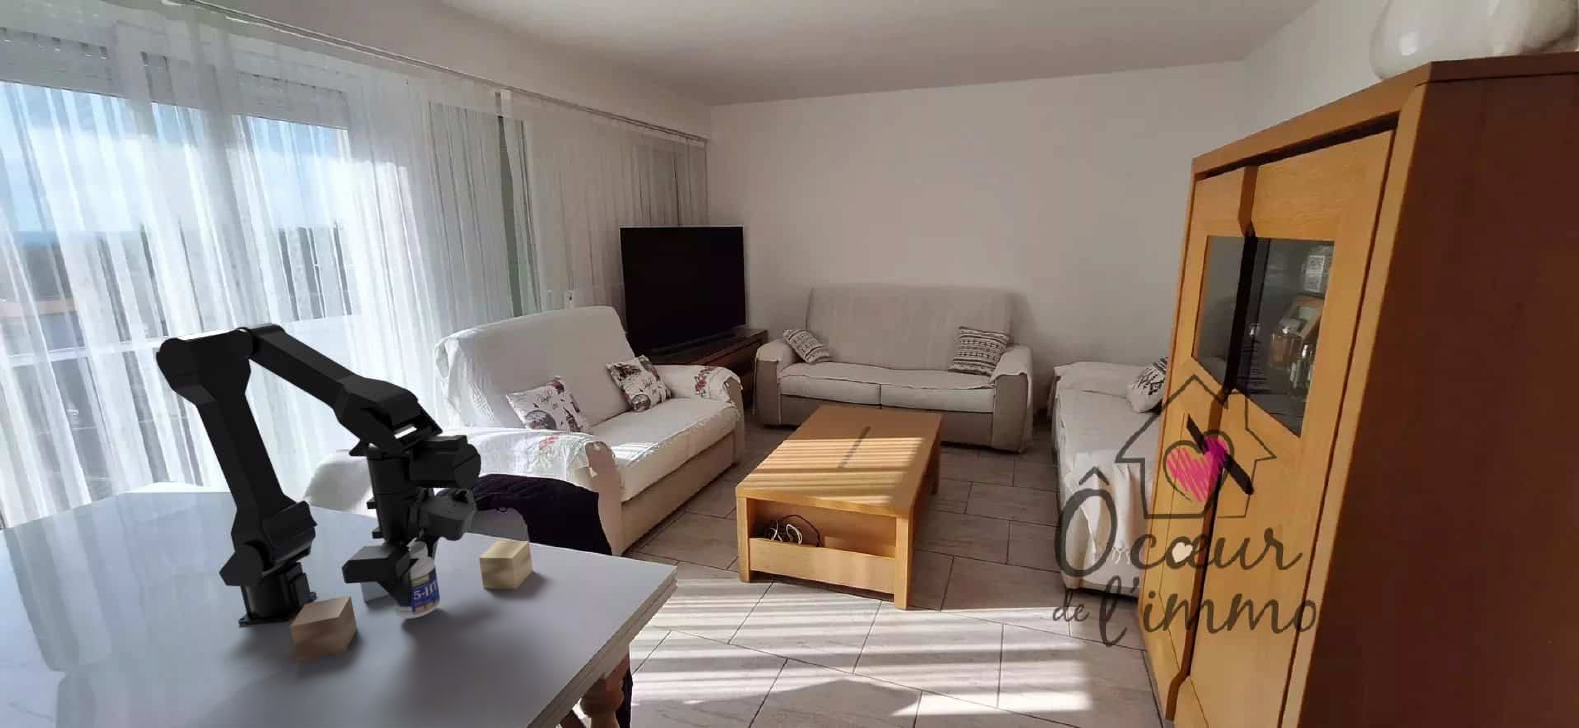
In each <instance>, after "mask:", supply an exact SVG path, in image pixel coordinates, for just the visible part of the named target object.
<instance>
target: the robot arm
mask: <svg viewBox="0 0 1579 728" xmlns="http://www.w3.org/2000/svg"><path fill="white" fill-rule="evenodd" d="M155 360H156V364H157V366H158V368H159V370H160V372H161V374H162V376H163V377H164V380H165V381H166V383H168V384H167V385H168V386H169V387H170V389H171V390H172V391H173V392H174V393H176V394H177V395H179V396H180V397H182V398H183V399H185V400H186V401H188V402H189V403H191V404H192V405H194V406H195V408H196V409H197V412H198V415H199V417H200V420H201V422H202V424H203V427H204V429H205V432H206V434H207V437H208V441H209V442H210V444H211V446H212V447H211V448H212V450H213V452H214V454H215V456H216V459H217V462H218V464H219V466H220V470H221V472H222V473H223V478H224V479H225V481H226V484H227V487H228V489H229V492H230V494H231V496H232V500H233V502H234V504H235V506H236V511H235V512H236V513H235V515H234V519H233V523H232V526H231V530H230V537H231V541H232V542H231V543H232V545H233V549H234V550H233V551H234V552H233V553H232V555H231V556H230V557H229V558H228V560H227V561H226V563H224V565H223V566H222V567H221V569H220V570H219V572H218V573H219V576H220V577H221V579H222V581H223V582H224V584H225V585H226V586H227V587H240V592H241V596H242V600H243V604H244V607H245V609H244V610H245V612H246V613H245V614H244V615H243V616H242V617H240V618H239V619H238V620H237V623H238V625H248V624H261V623H262V624H264V623H276V622H286V621H288V620H290V619H291V618H292V617H294V615H296V614H297V613H298V612H300V611H301V610H302V608H303V607H304V605H305V604H308V603H310V602H311V601H312V600H313V599H314V598H315V597H316V596H317V591H311V589H310V583H309V581H308V576H307V572H304V571H303V566H302V562H301V561H300V560H302V559H304V558H305V557H309V556H310V555H311V552H312V544H313V542H314V539H316V536H317V533H316V528H315V527H318V523H317V521H316V520H315V519H314V518H313V515H312V512H311V507H310V504H309V503H308V502H307V501H306V500H301V501H298V502H297V501H296V500H294V499H292V498H291V497H290V496H288V495H286V494H285V493H284V492H283V489H282V487H281V484H280V481H279V479H278V477H277V474H276V470H275V468H274V465H273V463H272V461H271V458H270V455H269V453H268V449H267V448H266V445H265V443H264V440H263V437H262V434H261V432H260V430H259V427H258V424H257V422H256V419H255V417H254V414H253V411H252V408H251V406H250V403H249V401H248V398H247V395H246V392H247V388H248V385H249V382H250V379H251V378H250V377H251V375H252V367H251V362H253V363H255V364H256V365H259V366H260V367H261V368H264V369H265V370H266V371H269V372H271V373H272V374H273V375H276V376H277V377H278V378H281V379H283V380H285V381H286V382H287V383H289V384H290V385H293V386H294V387H296V388H298V389H299V390H301V391H303V392H305V393H307V394H308V395H310V396H312V397H313V398H315V399H317V400H318V401H320V402H322V403H324V404H325V405H327V407H329V408H330V409H332V412H333V413H334V416H335V418H336V421H337V422H338V424H339V425H341V426H342V427H343V428H345V430H347V431H348V432H350V433H351V435H353V436H355V437H356V438H357V439H358V440H359V441H358V442H357V444H355V446H354V447H352V448H351V450H349V451H348V455H349V456H350V457H357V458H358V457H359V458H360V457H363V458H365V459H366V465H367V469H368V470H367V471H368V475H369V482H370V487H371V491H372V497H371V498H370V499H368V500H367V501H366V509H367V510H375V514H376V519H377V525H378V526H376V528H375V529H373V530H372V531H371V536H372V537H371V538H372V539H373V540H380V539H383V541H384V542H383V543H382V544H379V545H378V544H377V545H365V546H362V548H361V549H359V550H358V551H357V552H356V553H355V554H353V555H352V556H351V557H350V558H349V559H348V560H347V561H345V563H344V564H343V565H342V566H341V571H342V572H341V573H342V577H343V578H342V579H343V582H344V583H345V585H347V584H349V585H350V584H359V583H360V584H361V583H364V582H377V583H378V584H379V585H380V586H381V587H383V588H384V589H385V590H386V591H387V592H388V593H389V596H390V597H392V598H393V600H394V599H395V600H396V601H397V602H398V603H399V604H400V605H401V606H409V605H410V604H411V576H410V570H411V568H412V567H413V566H414V565H415V564H416V563H417V562H418V560H419V558H412V559H411V556H410V547H409V546H410V545H411V544H412V543H413V542H424V543H425V544H426V546H427V550H428V555H427V556H428V557H431V558H432V559H433V560H434V561H435V560H436V559H435V558H436V553H437V548H438V543H439V540H440V539H441V538H444V539H445V540H447V541H450V542H456V541H459V540H461V539H462V538H463V536H464V535H465V534H466V532H467V531H469V530H470V529H471V524H472V522H473V517H474V515H475V514H476V512H477V511H478V506H477V502H475V498H474V494H473V491H472V489H470V488H473V486H474V485H475V484H476V483H477V481H478V479H479V477H480V474H481V471H482V456H481V453H479V451H478V449H477V448H476V446H475V445H473V444H471V443H469V441H468V436H467V435H466V434H454V435H442V434H443V432H444V431H443V429H442V428H441V426H440V425H439V424H438V423H437V422H436V420H435V419H434V418H432V416H431V415H430V414H429V413H428V412H427V410H426V409H424V407H423V406H422V405H421V404H420V403H419V398H418V397H417V395H415V394H414V392H412V391H411V390H409V389H407V388H404V387H402V386H400V385H397V384H394V383H392V382H390V381H387V380H382V379H375V378H370V377H364V376H362V375H361V374H360V375H359V374H357V373H355V372H353V371H352V370H351V369H348V368H346V367H345V366H343V365H341V364H340V363H338V362H336V361H335V360H333V359H332V358H329V357H328V356H326V355H325V354H323V353H321V352H320V351H318V350H316V349H314V348H313V347H311V346H309V345H307V344H306V343H304V342H303V341H300V340H299V339H298V338H296V337H294V336H292V335H290V334H289V333H287V332H286V330H285V329H284V328H283V327H282V326H281V325H279V324H276V323H273V322H261V323H254V324H248V325H243V326H238V327H236V328H234V329H233V330H230V331H228V330H226V329H215V330H210V331H205V332H198V333H192V334H191V333H190V334H187V335H181V336H174V337H173V336H172V337H170V338H167V339H166V340H164V341H163V342H162V343H161V344H160V347H159V350H157V351H156V353H155ZM412 428H414V429H415V430H412V431H410V432H408V433H406V434H403V435H401V436H399V437H396V436H397V435H399V434H401V433H404V432H406V431H408V430H410V429H412ZM435 489H450V490H451V489H457V492H456V493H455V494H453V496H450V495H448V494H447V495H445V496H436V494H435ZM458 489H459V490H458Z"/></svg>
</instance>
